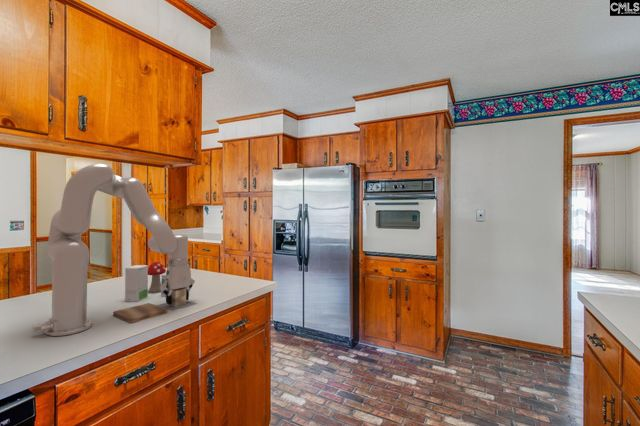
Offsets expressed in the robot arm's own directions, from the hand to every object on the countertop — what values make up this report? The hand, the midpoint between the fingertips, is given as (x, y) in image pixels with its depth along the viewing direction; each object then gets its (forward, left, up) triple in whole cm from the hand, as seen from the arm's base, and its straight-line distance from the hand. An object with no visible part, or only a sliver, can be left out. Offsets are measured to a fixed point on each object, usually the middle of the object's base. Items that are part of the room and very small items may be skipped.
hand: (177, 301), depth 137 cm
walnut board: (-16, 0, -2) cm, 16 cm away
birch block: (0, 0, -1) cm, 1 cm away
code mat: (0, 0, -2) cm, 2 cm away
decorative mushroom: (+6, +29, -2) cm, 30 cm away
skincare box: (-7, +22, -2) cm, 23 cm away
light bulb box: (+8, +16, -2) cm, 18 cm away
